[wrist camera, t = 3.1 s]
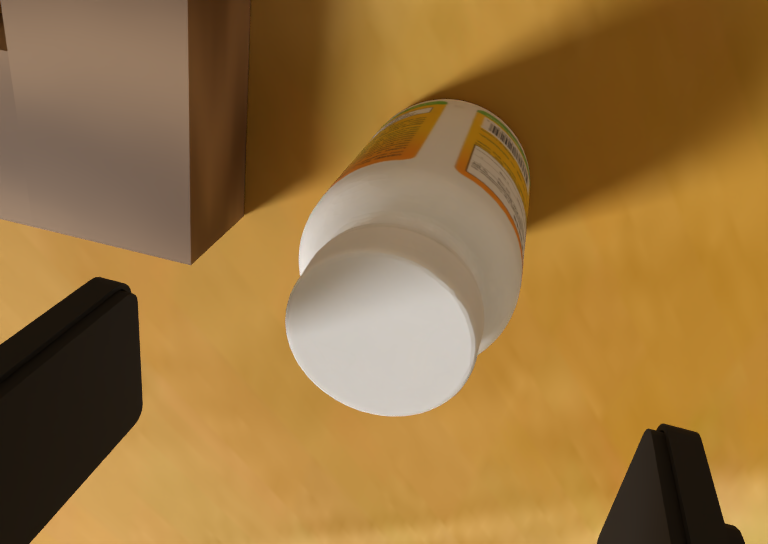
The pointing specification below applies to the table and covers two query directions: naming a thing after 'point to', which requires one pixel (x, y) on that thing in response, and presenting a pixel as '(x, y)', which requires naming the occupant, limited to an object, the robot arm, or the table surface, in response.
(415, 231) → the supplement bottle
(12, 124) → the socket block
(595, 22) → the table surface
